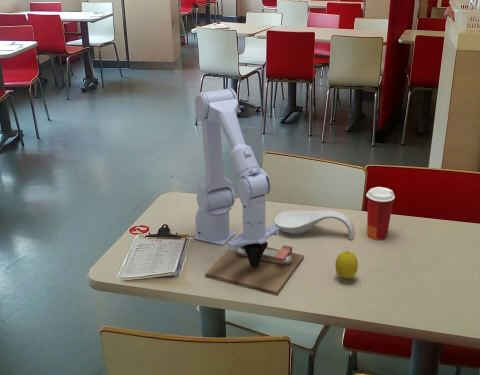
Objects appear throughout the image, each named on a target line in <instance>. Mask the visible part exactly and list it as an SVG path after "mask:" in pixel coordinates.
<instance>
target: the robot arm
mask: <svg viewBox="0 0 480 375" xmlns="http://www.w3.org/2000/svg"><path fill="white" fill-rule="evenodd" d="M194 108H195V117H196V121H197V122H200V123H201V131H202V141H203V154H204V164H205V165H204V167H205V175H206V176H205V178H204V179H203V180H202V181H201V182H200V183H199V184H198V185H197V193H196V194H197V195H196V202H197V207H198V208H197V210H196V213H195V217H194V218H195V237H194V239H195V240H198V241H202V242H206V243H210V244H211V243H212V244H214V245H219V246H224V245H226V244H227V245H228V247H227V248H228V250H229V249H230V250H232V251H235V250H236V248H239V247H242V246H243V248H244V249H245V251H246V253H247V256H248V259H249V262H250V265H251V266H252V267H253V268H257V267H259V263H260V260H261V257H262V254H263V252H264V251H265V249H266V248H267V247H268V242H267V239H268V238H270V237H272V236H279V235H280V229H279V228H278V227H277V226H276V225H272V226H268V227H267V226H266V223H267V222H266V206H267V205H266V202H267V200H266V199H267V198H266V197H267V196H266V195H269V194H270V192H271V181H270V177H269V176H268V174H267V173H266V172H265V171H264V169H263V168H262V167H260V165H259V164H258V161H257V159H256V156H255V154H254V150H253V148H252V147H251V146H249V145H247V144H246V143H245V139H244V134H243V132H242V128H241V125H240V122H239V119H238V116H237V113H238V111H239V99H238V95H237V93H236V92H235V90H234V89H233V88H232V87H229V88H226V89H218V90H210V91H203V92H202V91H200V92H198V93H197V95H196V96H195V98H194ZM221 131H222V132H223V134H224V135H225V137H226V140H227V142H228V144H229V146H230V148H231V151H230V153H229V157H230V159H231V163H232V165H233V167H234V170H235V172H236V175H237V177H238V182H237V189H238V193H239V200H240V203H241V204H242V233H240V234H239V235H237V236H236V237H234V238H233V236H235V234H236V232H235V231H232V230H230V210H232V207H233V206H234V205H235V202H236V193H235V190H234V185H233V183H232V181H231V180H230V179H228V178H227V177H225V172H224V160H223V159H224V158H223V147H222V146H223V145H222V144H223V142H222V132H221ZM230 239H231V240H230Z"/></svg>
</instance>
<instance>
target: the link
mask: <svg viewBox="0 0 480 375" xmlns="http://www.w3.org/2000/svg"><path fill="white" fill-rule="evenodd" d="M277 253H278V251H274V250H269V249H265V251H264V252H263V254H262V257H261V260H264V261H269V262H273V263H278V264H282V265H289V264H291V261H292V256H291V255H290V254H288V256H287V257H286V258H285V259H284V261H280V260H276V259H274V256H275V255H276V254H277ZM237 255H239V256H241V257H248V256H247V253H246V251H245V249H244V248H243V246H242V247H239V248H237Z"/></svg>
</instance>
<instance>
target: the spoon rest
mask: <svg viewBox="0 0 480 375" xmlns="http://www.w3.org/2000/svg"><path fill="white" fill-rule="evenodd" d="M326 219H335V220H338V221H340V222H342V223H343V224H344V226H346V228H347V231H348V238H349V240H350V241H352V240H353V239H354V236H355V226H354V223H353V222H352V220H351V219H350V218H349V217H348V216H347V215H346V214H344V213H342V212H339V211H336V210H327V209H326V210H298V209H295V210H294V209H293V210H287V211H283V212H280V213H278V214H277V215H276V216H275V217H274V219H273V223H274V226H276V227H278V228H279V231H281V232H283V233H288V234H290V235H302V234H304V233H305V232H307V231H308V230H310V229H311V228H312V227H314V226H315V225H316V224H318V223H320V222H322V221H323V220H326Z"/></svg>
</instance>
